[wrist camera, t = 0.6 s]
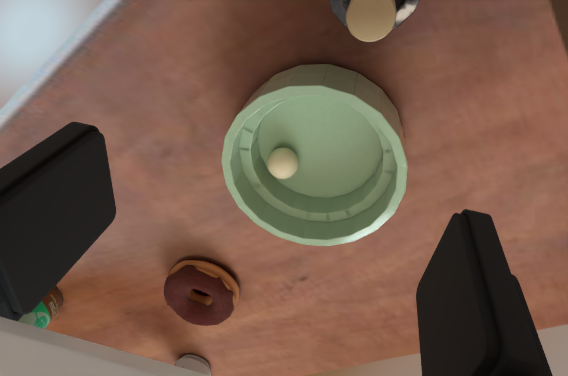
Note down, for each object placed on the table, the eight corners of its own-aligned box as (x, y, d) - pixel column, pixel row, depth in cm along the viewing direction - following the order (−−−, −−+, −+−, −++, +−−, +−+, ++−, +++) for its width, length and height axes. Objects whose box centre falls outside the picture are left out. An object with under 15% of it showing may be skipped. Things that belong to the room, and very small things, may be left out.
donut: (214, 246, 49) (202, 269, 46) (255, 298, 53) (247, 323, 50) (157, 266, 53) (142, 288, 50) (199, 312, 57) (188, 336, 54)
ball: (266, 146, 39) (258, 161, 36) (293, 138, 38) (287, 153, 35) (278, 171, 40) (271, 187, 38) (305, 164, 39) (300, 180, 37)
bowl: (214, 95, 38) (189, 121, 33) (376, 34, 32) (375, 55, 27) (279, 220, 45) (266, 257, 40) (421, 190, 39) (426, 228, 34)
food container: (78, 321, 65) (35, 378, 57) (45, 313, 66) (-2, 368, 58) (58, 269, 58) (5, 325, 50) (21, 261, 59) (-36, 315, 51)
